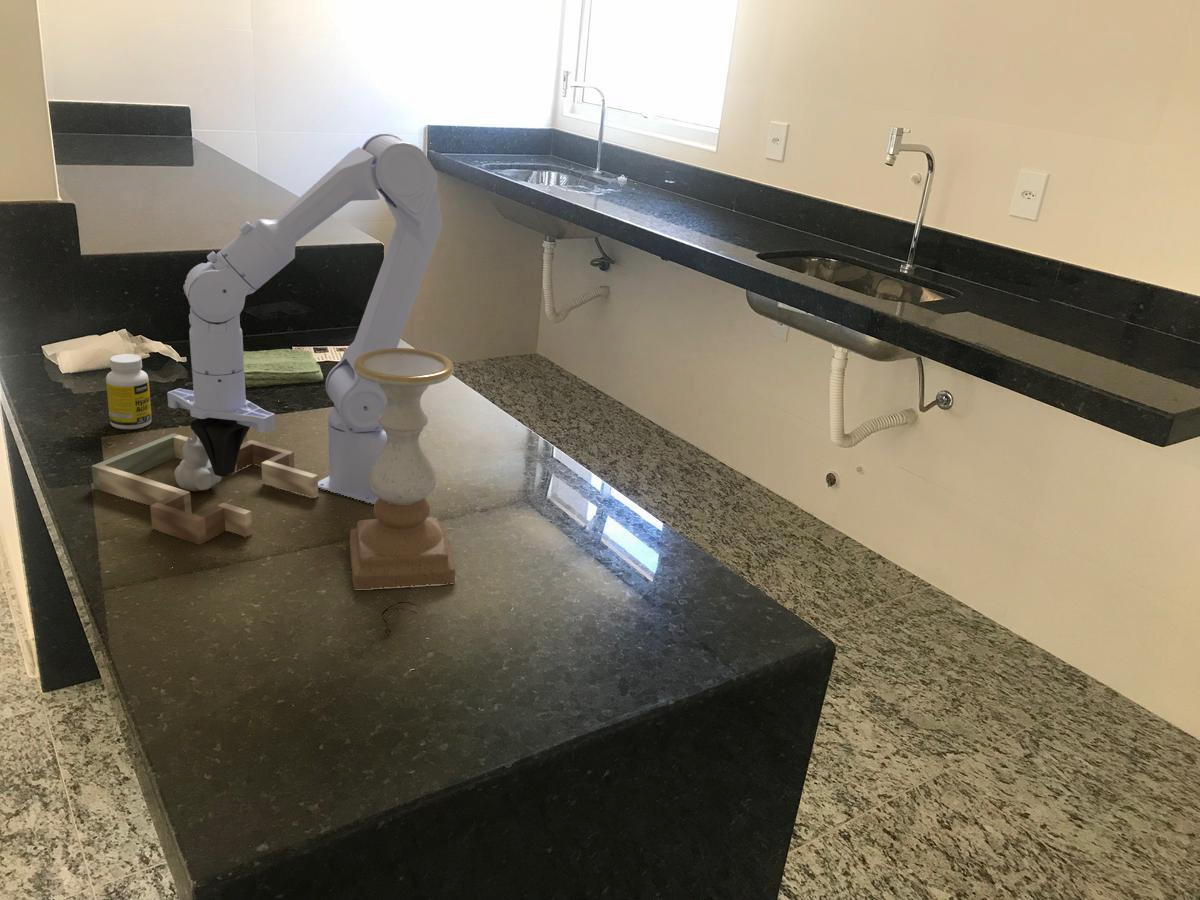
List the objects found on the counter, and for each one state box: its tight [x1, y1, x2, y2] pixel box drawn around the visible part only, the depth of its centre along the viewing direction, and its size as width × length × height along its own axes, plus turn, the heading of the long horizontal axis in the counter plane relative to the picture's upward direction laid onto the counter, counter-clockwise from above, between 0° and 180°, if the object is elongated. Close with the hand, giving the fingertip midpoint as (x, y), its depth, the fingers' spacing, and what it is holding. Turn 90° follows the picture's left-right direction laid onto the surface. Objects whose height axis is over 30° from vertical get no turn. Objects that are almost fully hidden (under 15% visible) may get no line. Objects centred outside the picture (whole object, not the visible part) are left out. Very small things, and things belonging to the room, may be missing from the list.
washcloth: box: [243, 348, 324, 388], centre depth 162 cm, size 13×18×3 cm
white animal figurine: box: [173, 430, 223, 492], centre depth 120 cm, size 5×7×8 cm
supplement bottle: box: [105, 353, 153, 430], centre depth 137 cm, size 5×5×10 cm
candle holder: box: [349, 347, 456, 589], centre depth 105 cm, size 11×11×24 cm
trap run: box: [91, 432, 319, 546], centre depth 121 cm, size 24×21×3 cm
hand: (224, 473), depth 119 cm, fingers closed
